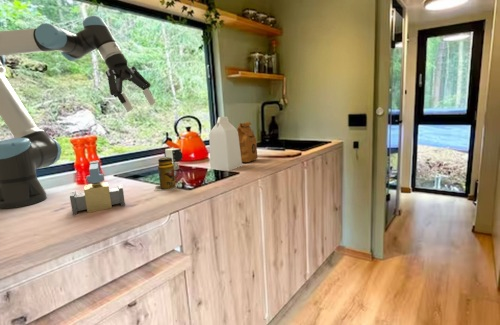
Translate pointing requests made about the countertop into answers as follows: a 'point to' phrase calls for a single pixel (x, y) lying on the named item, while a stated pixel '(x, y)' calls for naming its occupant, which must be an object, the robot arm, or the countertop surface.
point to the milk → (224, 146)
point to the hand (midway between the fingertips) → (142, 107)
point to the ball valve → (97, 197)
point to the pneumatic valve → (174, 156)
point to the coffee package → (247, 143)
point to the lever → (95, 173)
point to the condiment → (166, 174)
